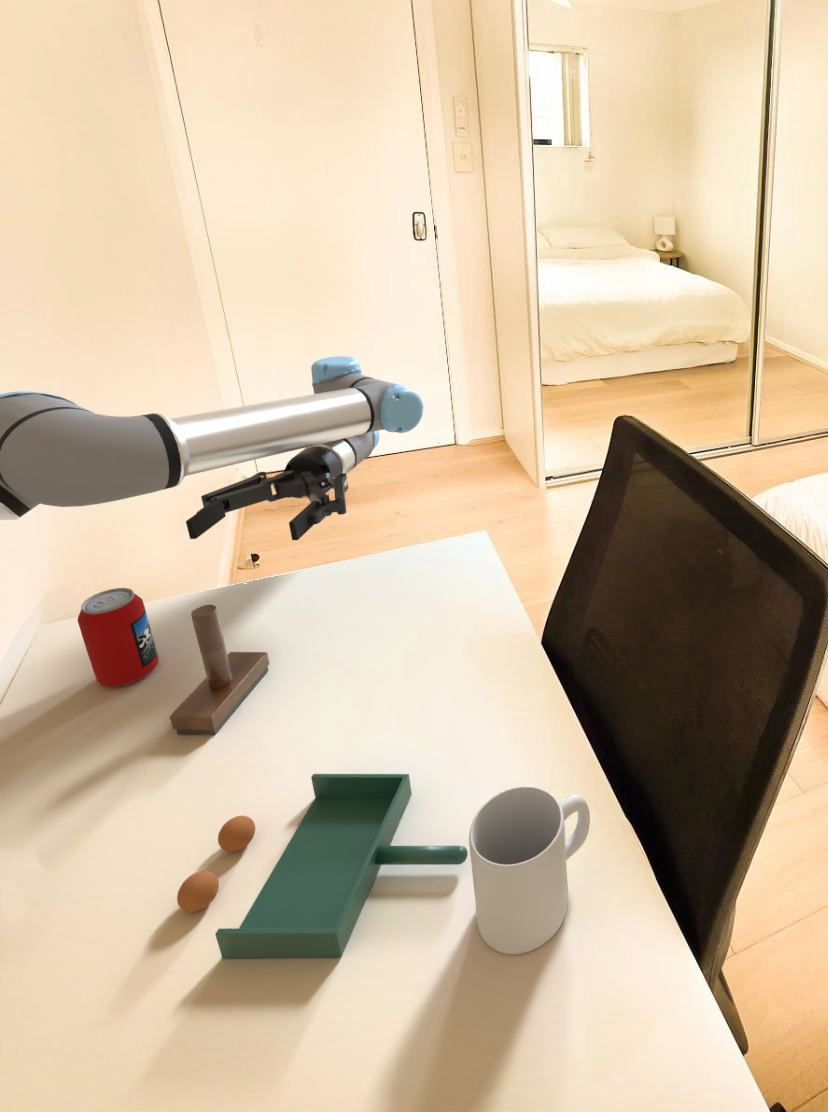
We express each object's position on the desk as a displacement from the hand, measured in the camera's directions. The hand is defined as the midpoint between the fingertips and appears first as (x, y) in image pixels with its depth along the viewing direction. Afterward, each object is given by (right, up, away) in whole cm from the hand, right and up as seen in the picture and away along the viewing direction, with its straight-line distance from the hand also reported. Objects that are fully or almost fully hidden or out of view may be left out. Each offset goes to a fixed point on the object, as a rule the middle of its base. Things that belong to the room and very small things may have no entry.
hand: (241, 531), depth 93 cm
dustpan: (+29, -30, -23) cm, 48 cm away
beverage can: (-16, -20, +2) cm, 26 cm away
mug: (+46, -32, -25) cm, 62 cm away
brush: (0, -22, -3) cm, 22 cm away
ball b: (+14, -27, -22) cm, 38 cm away
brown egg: (+14, -29, -28) cm, 43 cm away
